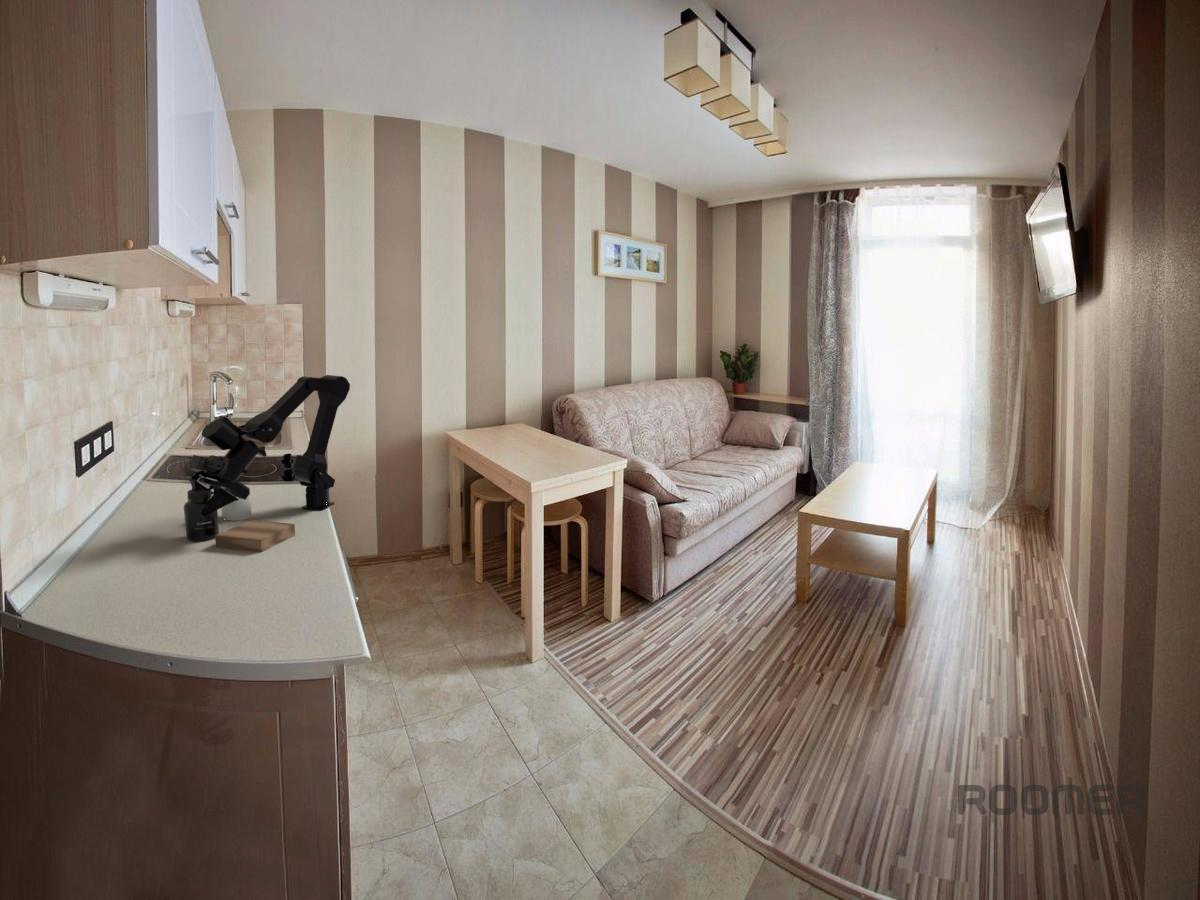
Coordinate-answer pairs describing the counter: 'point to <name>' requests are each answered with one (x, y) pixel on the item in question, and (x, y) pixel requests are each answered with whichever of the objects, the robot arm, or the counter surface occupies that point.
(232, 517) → the white rounded block
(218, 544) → the walnut plinth
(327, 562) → the counter surface
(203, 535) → the supplement bottle
